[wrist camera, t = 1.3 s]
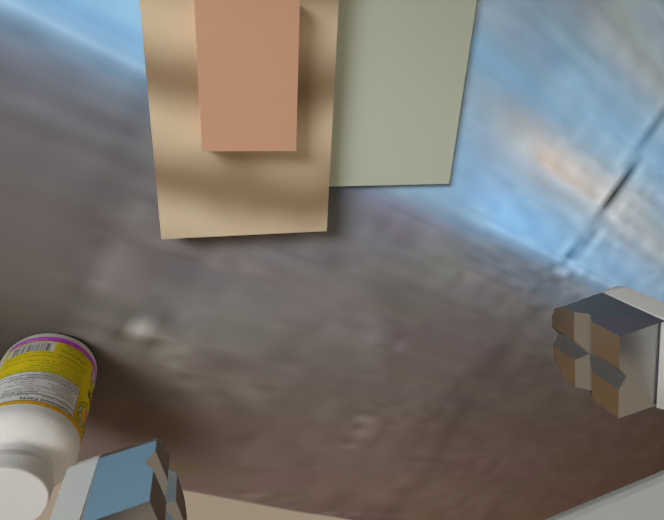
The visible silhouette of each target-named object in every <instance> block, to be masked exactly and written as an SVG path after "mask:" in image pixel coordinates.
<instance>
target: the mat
mask: <svg viewBox="0 0 664 520" xmlns="http://www.w3.org/2000/svg"><path fill="white" fill-rule="evenodd" d="M476 4H477V0H339V7H338V26H337V45H336V65H335V84H334V103H333V122H332V141H331V160H330V179H329V187H330V186H374V185H417V184H449V181H450V175H451V168H452V162H453V155H454V149H455V142H456V135H457V129H458V122H459V116H460V109H461V103H462V96H463V89H464V83H465V76H466V70H467V63H468V57H469V50H470V43H471V37H472V30H473V24H474V17H475V11H476Z"/></svg>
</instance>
